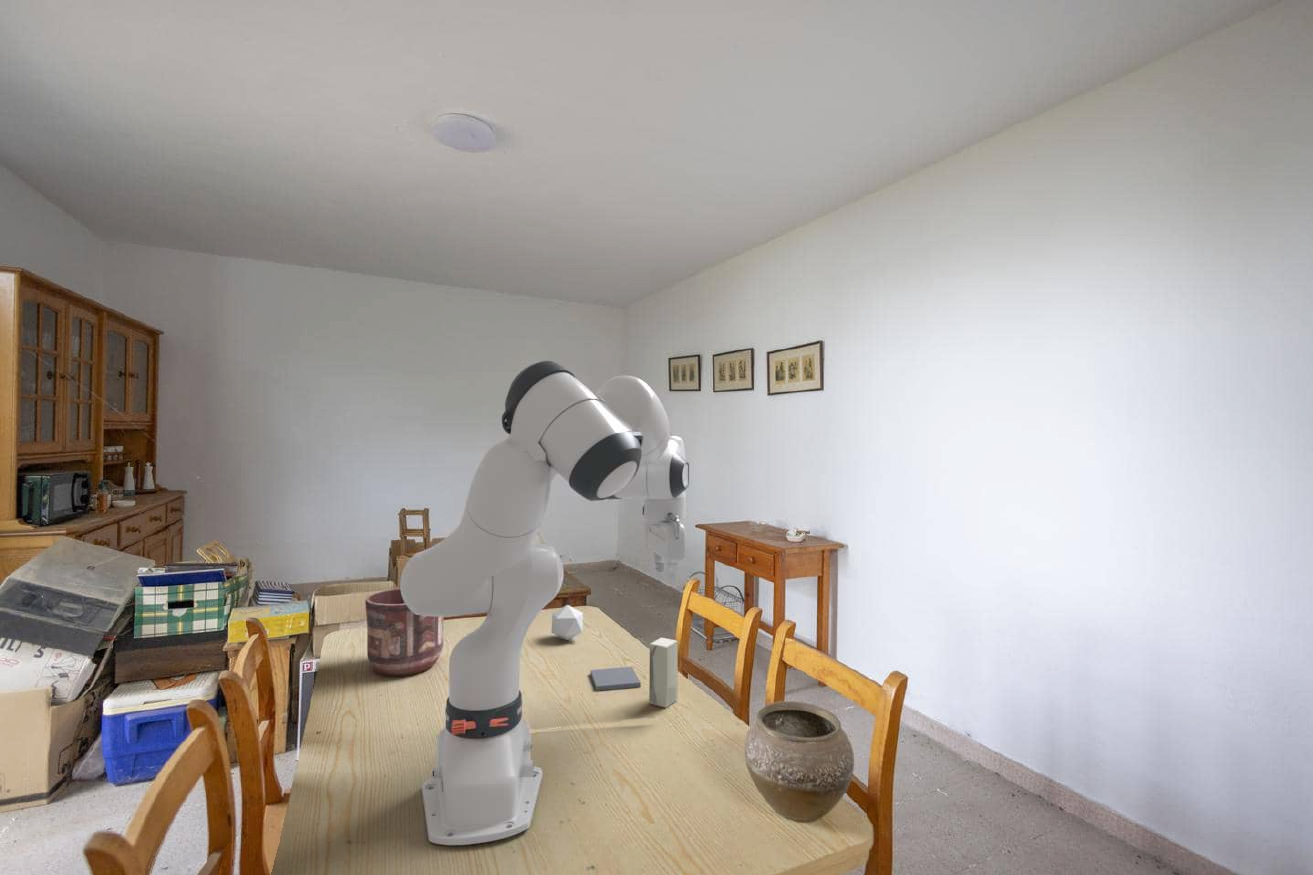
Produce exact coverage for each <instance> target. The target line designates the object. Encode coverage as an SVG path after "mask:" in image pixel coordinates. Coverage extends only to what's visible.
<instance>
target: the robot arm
mask: <svg viewBox="0 0 1313 875" xmlns="http://www.w3.org/2000/svg"><path fill="white" fill-rule="evenodd" d="M501 425H502V429H503V430H504V432H505V433H506V434H508V435H509V436H508V437H507V438H506V439H504V440H503V441H500V442H498V443H496V444H495V445H493V446H492V447H491V448H490V449H488V451H487V452H486V453H485V454H484V456H483V458H482V459H481V461H480V462H479V465H478V467H477V470H475V474H474V476H473V479H472V481H471V484H470V487H469V491H468V495H467V499H466V503H465V507H464V510H463V511H464V512H463V515H462V518H461V519H460V520H461V521H460V523H459V525H458V526H457V527H456V528H455V529H454V530H453V531H452V532H451V533H450V534H448V536H446V537H445V538H444V539H443V540H441V541H440V542H438V543H436V544H434V545H433V546H431V547H429V548H426V549H423V550H422V551H419V552H417V553H416V552H415V554H414V555H412V556H411V557H410V559H408V561H407V562H406V563H405V566H404V568H403V570H402V573H401V576H400V582H399V583H400V584H399V586H400V587H399V588H400V590H401V595H402V598H403V600H404V602H405V604H406V606H407V607H408V608H409V609H410V610H411V611H412V612H413V613H414V614H415V615H423V616H435V617H444V618H451V617H459V616H468V615H475V614H476V615H477V614H485V613H487V615H486V617H485V619H484V620H483V622H482V623H481V624H480V626H479V627H477V628H476V629H474V630H473V631H472V632H470V633H469V634H467V635H465V636H464V637H462V638H461V639H460V640H459V641H458V642H457V643H456V645H454V646H453V649H452V651H451V653H450V656H449V666H448V667H449V669H448V670H449V672H448V675H449V676H448V697H447V699H446V701H445V702H446V703H445V708H444V709H445V711H444V717H445V726H444V728H443V729H442V730H441V731H440V732H439V733H437V735H436V756H435V757H436V761H435V763H436V765H435V766H436V768H433V770H432V777H431V778H429V779H426V780H425V781H424V782H422V788H421V795H422V801H423V809H424V815H425V816H424V817H425V822H426V823H425V824H426V832H427V837H428V841H429V842H430V843H433V844H435V845H436V844H437V845H443V846H466V845H473V844H481V843H487V842H493V841H499V840H502V839H505V838H509V837H511V836H514V835H515V836H516V835H517V834H519V833H522V832H524V831H525V830H528V828H529V827H530V825H531V824H532V821H533V820H532V819H533V815H534V811H535V807H536V805H537V804H536V803H537V800H538V796H539V792H540V787H541V784H542V780H543V769H542V768H541V767H539V766H536V765H535V763H534V760H532V759H531V751H533V741H531V725H530V724H529V723H527V722H526V721H524V719H523V718H522V716H523V698H522V697H523V696H522V691H521V690H520V674H521V673H520V672H521V660H522V652H523V651H522V650H523V646H524V642H525V639H526V637H527V634H528V631H529V629H530V627H531V626H532V624H533V622H534V620H535V619H536V617H537V616H538V614H540V612H541V611H542V610H543V609H544V608H545V607H546V606H547V605H548V604H549V603H550V602H552V601H553V600H554V599H555V598H556V597H557V595H558V593H559V592H560V591H561V588H562V585H563V581H564V575H565V572H564V564H563V561H562V558H561V556H560V555H559V553H558V552H557V550H556V549H555V548H554V547H553V546H552V545H550V544H548V543H547V544H545V543H539V542H536V539H537V536H538V533H539V532H540V527H541V525H542V522H543V519H544V517H545V514H546V511H547V507H548V504H549V498H550V492H551V484H552V481H553V479H554V478H555V477H556V475H558V474H559V475H560V476H561V478H563V479H564V480H566V481H567V483H568V484H569V485H568V486H569V487H570V488H571V489H572V490H573V491H574V492H576V493H577V494H578V495H580V496H581V497H582V498H584V499H585V500H588V501H589V502H590V501H591V502H595V501H604V500H622V499H630V500H631V499H634V500H635V499H636V500H644V503H643V505H642V510H641V512H642V513H641V514H642V516H643V519H644V529H645V530H644V532H645V543H646V546H647V548H649V549H650V550H652V556H653V563H654V571H655V572H656V573H663V572H664V571H665V573H664V574H665V578H664V579H665V580H666V581H667V582H670V583H671V582H672V583H673V582H675V581H676V573H677V569H678V565H679V564H678V563H684V562H685V559H686V554H687V553H686V531H685V526H684V525H683V524H682V523H681V521H684V520H686V517H687V515H686V512H687V510H686V509H687V507H686V506H687V505H686V504H687V495H686V490H687V489H688V488H689V485H690V463H689V462H688V461H687V460H686V452H685V451H686V450H685V444H684V440H683V439H682V438H681V436H678V435H674V434H671V427H670V421H669V417H668V415H667V412H666V409H665V408H664V405H663V403H662V402H661V400H660V398H659V396H658V395H657V394H656V392H655V391H654V390H653V389H652V388H651V386H649V385H648V384H647V382H645V381H644V380H642V379H640V378H638V377H637V376H632V375H624V374H623V375H617V376H614V377H612V378H611V377H610V379H608V380H606V381H605V382H603V383H602V385H601V386H600V387H599V388H598V389H597V391H596V393H595V394H594V393H593V392H592V390H590V389H589V388H588V387H587V386H586V385H584V383H582V382H581V381H580V380H579V379H577V378H576V376H575V374H574V373H573V372H572V371H571V370H569V369H567V368H566V367H565V366H563V365H561V364H559V363H558V362H555V361H554V360H553V361H552V360H542V361H539V362H536V363H533V364H531V365H529V366H527V367H525V368H524V369H523V370H522V371H520V372H519V373H518V374H517V375H516V377H515V378H514V379H513V380H512V382H511V384H510V386H509V389H508V391H507V395H506V398H505V401H504V412H503V414H502V416H501ZM664 561H665V563H664ZM664 564H665V565H666V570H665V565H664Z"/></svg>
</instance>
